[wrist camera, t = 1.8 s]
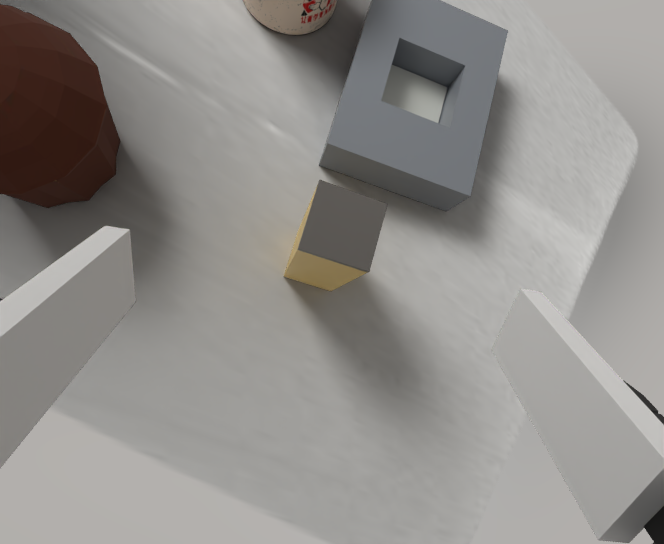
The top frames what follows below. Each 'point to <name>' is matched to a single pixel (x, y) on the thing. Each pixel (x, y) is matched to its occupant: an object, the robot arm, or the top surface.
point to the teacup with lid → (292, 14)
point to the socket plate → (417, 101)
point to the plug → (335, 237)
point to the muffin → (51, 115)
